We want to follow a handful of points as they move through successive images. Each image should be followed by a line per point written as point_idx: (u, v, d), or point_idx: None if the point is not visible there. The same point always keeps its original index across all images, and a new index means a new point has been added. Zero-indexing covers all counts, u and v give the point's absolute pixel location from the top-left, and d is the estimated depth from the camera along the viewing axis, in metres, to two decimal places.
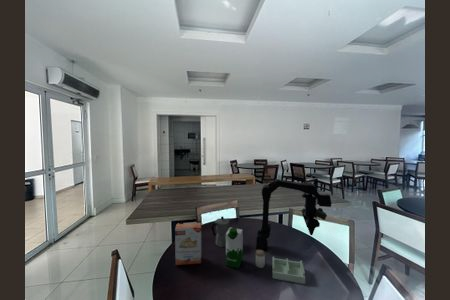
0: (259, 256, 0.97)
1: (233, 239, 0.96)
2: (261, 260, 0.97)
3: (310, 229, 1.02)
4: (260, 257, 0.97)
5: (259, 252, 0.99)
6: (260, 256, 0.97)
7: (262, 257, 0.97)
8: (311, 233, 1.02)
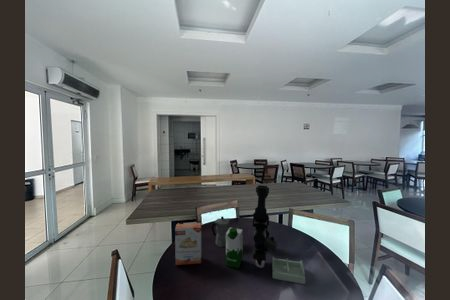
0: None
1: (233, 239, 0.96)
2: None
3: None
4: None
5: None
6: None
7: None
8: (260, 263, 0.97)
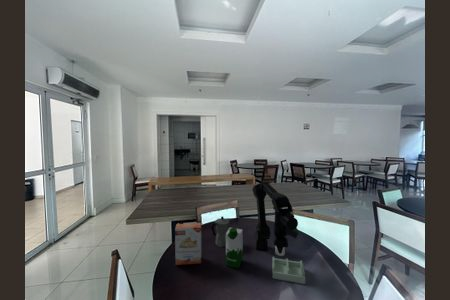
0: None
1: (233, 239, 0.96)
2: None
3: (279, 247, 0.90)
4: None
5: None
6: None
7: None
8: (280, 251, 0.91)
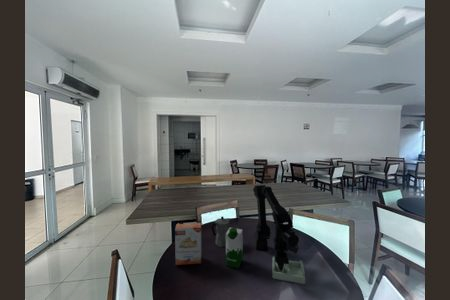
0: None
1: (233, 239, 0.96)
2: None
3: (280, 264, 0.89)
4: None
5: None
6: None
7: None
8: (281, 269, 0.90)
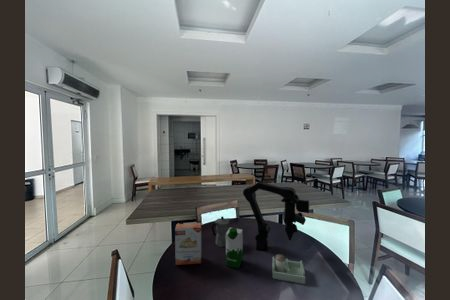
0: (280, 261, 0.92)
1: (233, 239, 0.96)
2: (282, 266, 0.92)
3: (289, 234, 1.01)
4: (281, 263, 0.92)
5: (280, 257, 0.94)
6: (281, 261, 0.92)
7: (283, 262, 0.92)
8: (290, 238, 1.02)
